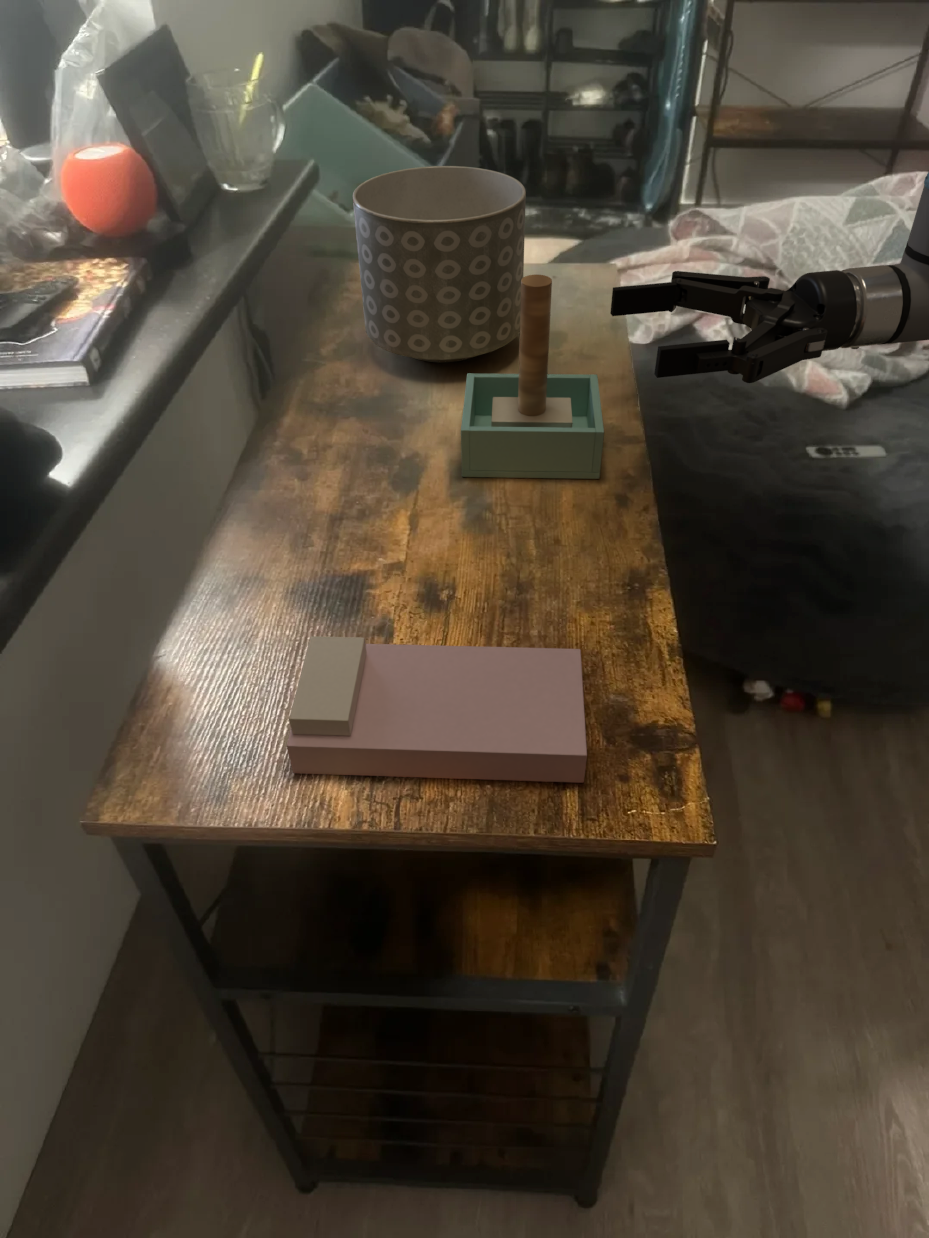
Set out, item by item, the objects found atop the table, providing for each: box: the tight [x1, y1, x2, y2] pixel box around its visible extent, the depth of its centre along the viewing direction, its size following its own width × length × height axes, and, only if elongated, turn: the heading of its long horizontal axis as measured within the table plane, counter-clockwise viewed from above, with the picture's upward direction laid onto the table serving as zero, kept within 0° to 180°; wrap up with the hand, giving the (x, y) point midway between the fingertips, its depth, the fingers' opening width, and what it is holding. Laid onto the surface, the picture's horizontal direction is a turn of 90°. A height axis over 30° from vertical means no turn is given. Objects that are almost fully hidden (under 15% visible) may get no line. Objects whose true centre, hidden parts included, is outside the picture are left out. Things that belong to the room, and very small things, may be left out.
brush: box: [491, 274, 573, 428], centre depth 85 cm, size 8×5×17 cm, turn 87°
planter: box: [352, 165, 527, 364], centre depth 103 cm, size 19×19×18 cm
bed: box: [286, 635, 588, 784], centre depth 62 cm, size 20×10×5 cm, turn 87°
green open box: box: [460, 372, 605, 480], centre depth 90 cm, size 14×12×5 cm
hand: (633, 330), depth 85 cm, fingers open, 13 cm apart
